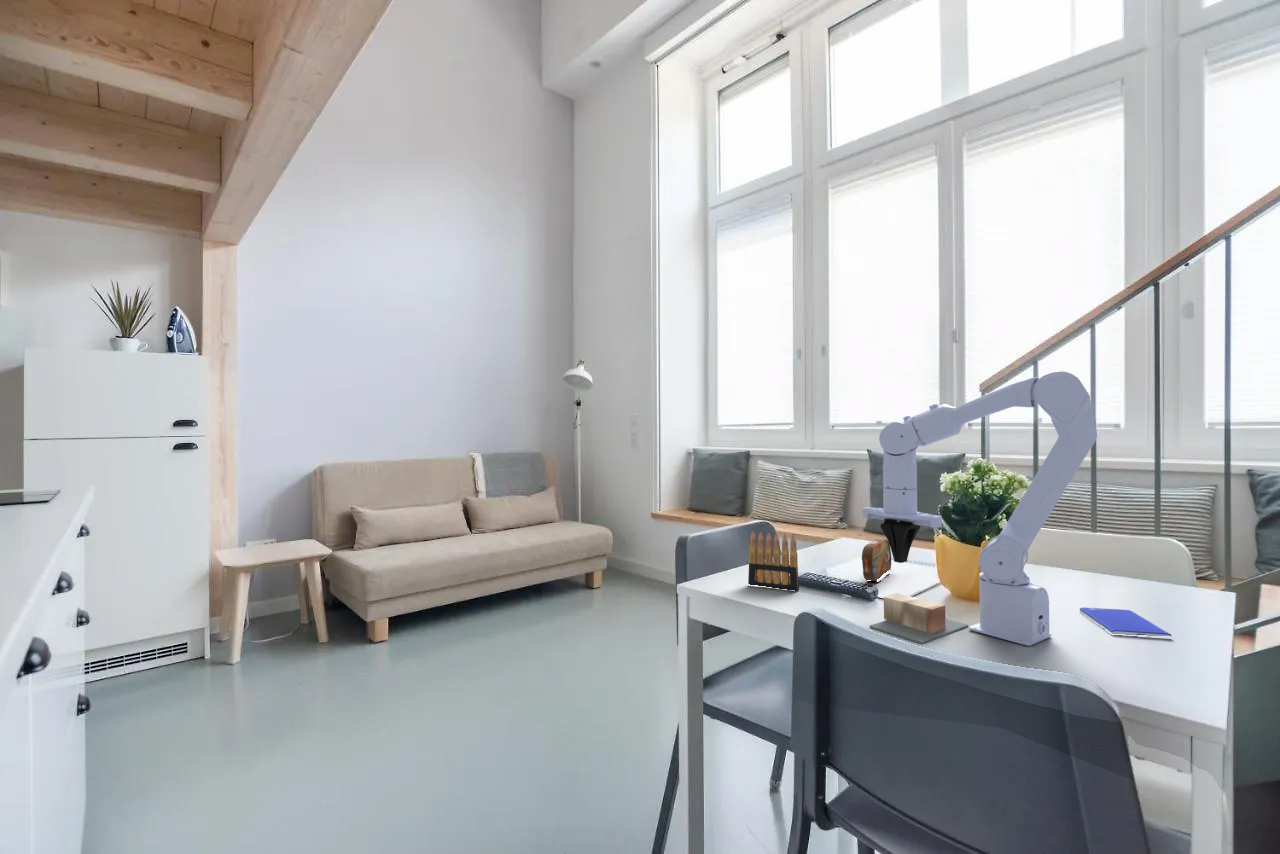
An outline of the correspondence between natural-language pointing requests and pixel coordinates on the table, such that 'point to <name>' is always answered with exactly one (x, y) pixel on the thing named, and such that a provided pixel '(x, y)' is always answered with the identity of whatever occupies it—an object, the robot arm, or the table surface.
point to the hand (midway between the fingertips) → (900, 561)
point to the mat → (916, 630)
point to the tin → (876, 559)
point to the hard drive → (1123, 622)
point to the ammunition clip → (773, 563)
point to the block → (914, 613)
